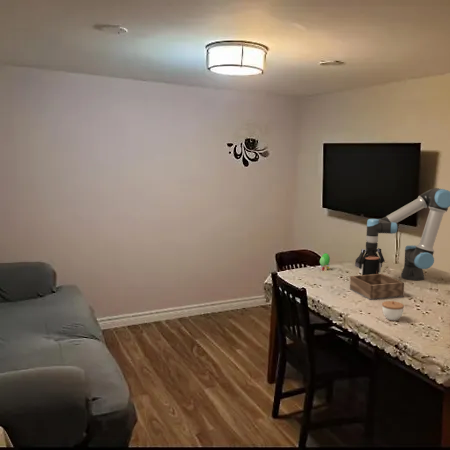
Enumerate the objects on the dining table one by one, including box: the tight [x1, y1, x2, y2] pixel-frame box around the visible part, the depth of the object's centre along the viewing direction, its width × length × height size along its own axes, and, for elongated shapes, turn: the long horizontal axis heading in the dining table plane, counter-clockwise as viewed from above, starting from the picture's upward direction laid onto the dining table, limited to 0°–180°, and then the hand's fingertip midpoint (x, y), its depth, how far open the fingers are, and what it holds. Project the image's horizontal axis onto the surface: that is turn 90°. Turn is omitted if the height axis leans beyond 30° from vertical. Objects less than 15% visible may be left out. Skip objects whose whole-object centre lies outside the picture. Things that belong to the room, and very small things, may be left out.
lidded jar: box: [381, 300, 405, 321], centre depth 241 cm, size 11×11×9 cm
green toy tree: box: [319, 253, 331, 272], centre depth 344 cm, size 15×14×14 cm
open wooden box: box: [349, 273, 405, 301], centre depth 285 cm, size 23×23×9 cm
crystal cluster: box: [354, 256, 363, 268], centre depth 356 cm, size 13×14×10 cm
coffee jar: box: [361, 256, 380, 275], centre depth 308 cm, size 11×11×18 cm
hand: (370, 272), depth 309 cm, fingers open, 13 cm apart
